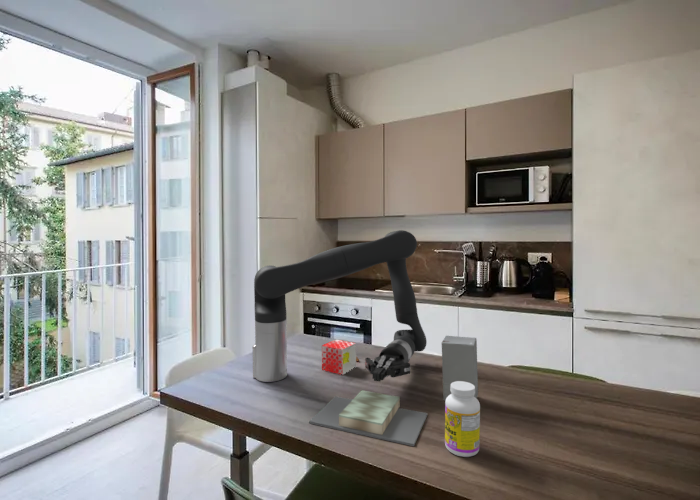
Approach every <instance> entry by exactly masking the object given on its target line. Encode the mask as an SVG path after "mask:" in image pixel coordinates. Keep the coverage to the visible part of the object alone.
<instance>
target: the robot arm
mask: <svg viewBox="0 0 700 500" xmlns="http://www.w3.org/2000/svg"><path fill="white" fill-rule="evenodd" d="M417 247H418V241H417V238H416V237H415V236H414V234H412V233H411V232H410V231H407V230H402V229H401V230H393V231H389V232H388V233H387V234H385V235H384V237H380V238H378V239H375V240H371V241H367V242H358V243H352V244H346V245H342V246H337V247H333V248H330V249H328V250H324V251H321V252H318V253H317V254H314V255H312V256H310V257H308V258H306V259H304V260H302V261H298V262H296V263H291V264H287V265H280V266H276V265H275V266H274V265H265V266H262V267H261V268H259V269H258V270H257V272H256V274H255V275H254V278H253V279H254V280H253V281H254V282H253V283H254V284H253V287H254V288H253V289H254V290H253V291H254V298H253V299H254V330H255V331H254V333H255V334H254V335H255V337H254V339H255V340H254V341H255V343H254V345H252V378H254V379H256V380H257V381H259V382H266V383H270V382H278V381H279V382H280V381H282V380H283V379H286V377H288V352H287V351H288V348H287V347H288V341H287V338H288V337H287V336H288V335H287V334H288V333H287V331H288V330H287V329H288V327H287V325H288V323H287V322H288V321H287V305H286V294H289V293H291V292H294V291H297V290H299V289H301V288H303V287H306V286H311V285H316V284H320V283H324V282H325V283H326V282H330V281H333V280H336V279H340V278H343V277H346V276H349V275H352V274H355V273H358V272H361V271H364V270H366V269H370V268H371V267H373V266H377V265H378V264H384V263H386V264H387V269H388V270H387V271H388V274H389V277H390V284H391V289H392V294H393V295H392V296H393V304H394V305H393V306H394V312H395V319H396V322H398V323H399V324H403V325H406V326H407V325H408V326H409V327H410V329H397V330H396V331H395V332H394V334H393V341H391V342H390V343H388V344H387V345H386V346H385V347H384V348H382V350H381V351H380V353H379V354H378V356H375V358H374V359H373V358H370V357H365V358H364V363H365V369H367V371H368V372H369V373H370V374H371V375H372V379H373V381H374V382H379V383H380V382H381V381H383V380H385V378H388V377H390V378H397V377H401V376H407V375H410V374H411V363H409V362H410V360H411V358H412V357H413V355H414V354H415V353H417V352H419V353H420V352H423V351H425V349H426V346H427V344H428V343H427V336H426V333H425V331H424V330H423V327H422V325H421V322H420V318H419V316H418V308H417V300H416V294H415V291H414V289H413V288H414V287H413V285H412V283H411V281H410V277H409V273H408V270H407V269H408V267H407V258H409V257H411V256H412V255H413V254H414V253H415V252H416V249H417Z"/></svg>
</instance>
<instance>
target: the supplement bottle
mask: <svg viewBox="0 0 700 500" xmlns="http://www.w3.org/2000/svg"><path fill="white" fill-rule="evenodd" d="M450 391H451V393H452V394H450V395H449V396H448V397H447V398H446V401H445V402H444V405H445V409H444V410H445V411H444V444H445V448H446V449H447V450H448V452H450V453H451V454H453V455H455V456H458V457H461V458H462V457H464V458H470V457H473V456H476V455H477V454H478V453H479V451H480V438H481V437H480V436H481V435H480V432H481V431H480V430H481V429H480V427H481V420H480V419H481V404H480V403H481V402H479V399H478V398H477V399H476V398H475V397H474V395H475V386H474V385H473V384H471V383H468V382H464V381H456V382H453V383H451V386H450Z"/></svg>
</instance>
